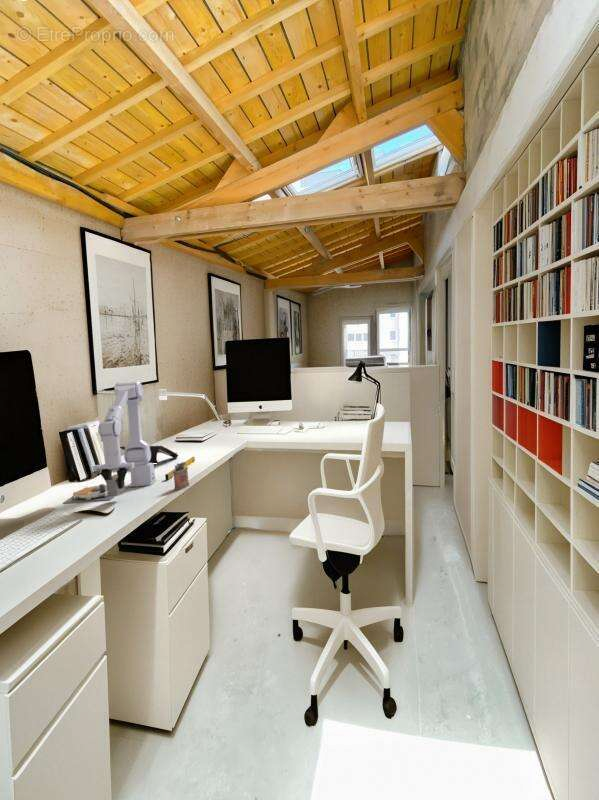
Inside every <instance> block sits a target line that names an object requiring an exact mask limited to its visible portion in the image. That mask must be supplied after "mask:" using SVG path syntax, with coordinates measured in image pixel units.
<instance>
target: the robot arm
mask: <svg viewBox="0 0 599 800" xmlns="http://www.w3.org/2000/svg"><path fill="white" fill-rule="evenodd" d="M114 394H115V398H114V402H113V406H110V407H109V408H108V411H107V413H106V414H105V417H104V420H103V421H101V422H100V423H99V424H98V428H97V429H98V430H97V431H98V435H99V437H100V441H101V442H102V447H103V448H102V449H103V457H104V458H103V459H104V463H102V464H101V463H100V464H96V465H93V466H92V469H93V472H98V471H100V476H102V478H103V480H104V481H105V482H106V480H107V479H109V478H110V477H112V476H113V475H112V474H113V471H112V470H116V474H117V475H118V479H119V487H120V489H122V488H123V487H124V483H125V480H126V479H125V478H126V475H127V473H128V471H130V472H129V473H130V481H131V483H130V484H129V485H128V486H127V487H130V488H131V487H142V486H144V487H145V486H152V485H153V483H155V482H156V481H157V479H156V472H155V466H154V465H155V464H153V463H148V462H149V461H150V459H151V451H150V446H151V445H150V444H149V443H148V442H146V441H145V440H143V432H142V431H143V429H142V415H141V414H142V413H141V412H142V411H141V402H142V401H144V388H143V385H142V383H141V382H140V381H138V380H137V381H129V382H127V381H126V382H116V383H115V385H114ZM126 404H127V410H128V411H127V413H128V427H129V428H128V431H129V442H128V443H127V444H126V445H125V446H124V447H125V450H124V453H123V459H124V461H125V462H124V461H123V462H122V455H121V454H122V453H121V448H120V447H121V445H120V444H121V443H120V434H121V433H122V432H121V431H122V420H123V418H124V414H125V411H124V407H125V405H126ZM136 447H142V448H136ZM131 448H133V449H131Z"/></svg>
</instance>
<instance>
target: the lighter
mask: <svg viewBox="0 0 599 800" xmlns="http://www.w3.org/2000/svg"><path fill="white" fill-rule="evenodd" d="M185 462H186V461H182V462H179V463H176V465H174V469H176V470H175V471H173V474H174V477H173V481H174V491H181V490H183V489H185V488H188V487H189V486H190V482H189V472H188V470H189V469H188V468H189V466H188V467H184V465H186V464H185Z"/></svg>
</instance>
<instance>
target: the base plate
mask: <svg viewBox="0 0 599 800" xmlns="http://www.w3.org/2000/svg"><path fill="white" fill-rule="evenodd" d="M127 487H128V486H127V485H125V489H126V488H127ZM115 497H116V496H107V497H100V498H94V499H91V500H86V499H77V500H75V499H74V496H73V495H72V496H71V497H69V498H68V499H66V500H65V501H64V502H62V504H64V505H65V504H76V503H77V504H78V503H91V502H105V501H111V500H112V499H114V498H115Z"/></svg>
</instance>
